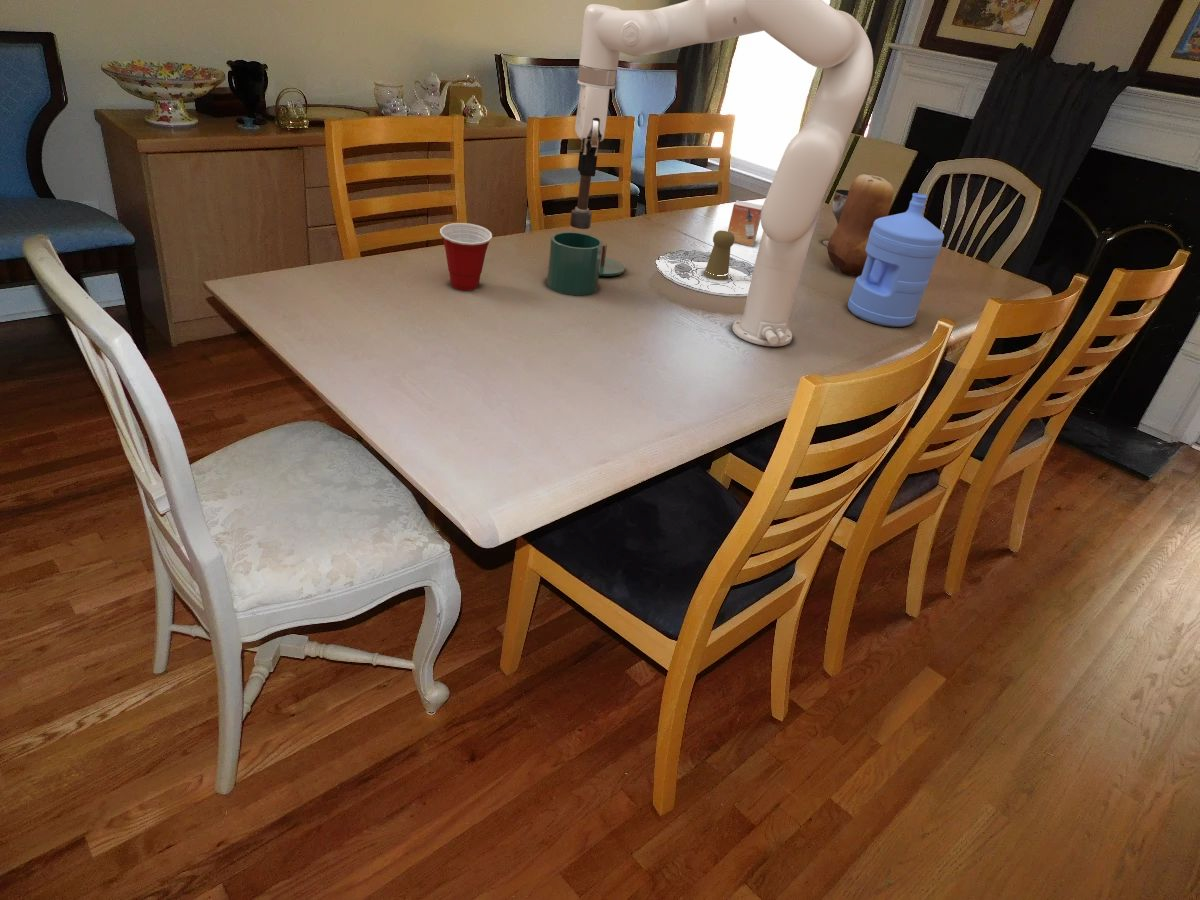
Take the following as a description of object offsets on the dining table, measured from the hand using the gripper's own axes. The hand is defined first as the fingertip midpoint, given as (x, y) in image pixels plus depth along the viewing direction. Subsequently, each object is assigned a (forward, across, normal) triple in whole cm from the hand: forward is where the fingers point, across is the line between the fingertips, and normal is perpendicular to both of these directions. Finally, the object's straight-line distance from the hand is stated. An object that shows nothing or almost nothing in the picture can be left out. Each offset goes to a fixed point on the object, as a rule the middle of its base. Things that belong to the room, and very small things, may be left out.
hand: (586, 173), depth 160 cm
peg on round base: (+11, 0, 0) cm, 11 cm away
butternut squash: (+25, -23, +78) cm, 85 cm away
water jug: (+25, +7, +73) cm, 77 cm away
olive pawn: (+25, -13, +38) cm, 47 cm away
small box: (+25, -43, +54) cm, 73 cm away
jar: (+25, 0, 0) cm, 25 cm away
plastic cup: (+25, +4, -24) cm, 35 cm away
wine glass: (+25, -47, +85) cm, 100 cm away
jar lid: (+24, -12, +8) cm, 28 cm away
